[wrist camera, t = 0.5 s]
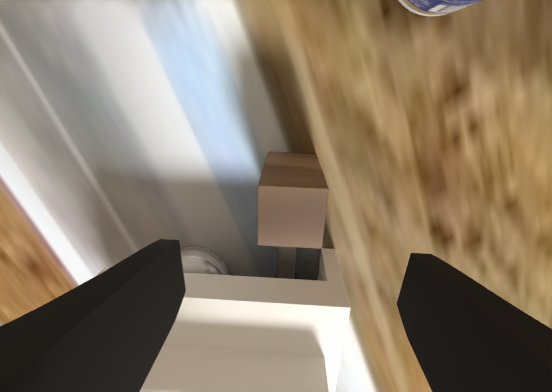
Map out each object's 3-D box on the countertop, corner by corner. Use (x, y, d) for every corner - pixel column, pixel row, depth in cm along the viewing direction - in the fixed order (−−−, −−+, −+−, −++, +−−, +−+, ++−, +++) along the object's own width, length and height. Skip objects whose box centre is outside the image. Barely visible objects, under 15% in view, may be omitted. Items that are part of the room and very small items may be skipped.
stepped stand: (322, 335, 23) (337, 455, 15) (153, 324, 23) (90, 435, 16) (335, 248, 19) (362, 351, 12) (134, 237, 20) (42, 329, 12)
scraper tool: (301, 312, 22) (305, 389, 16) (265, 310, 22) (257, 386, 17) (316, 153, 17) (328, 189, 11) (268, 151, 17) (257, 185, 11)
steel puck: (230, 297, 22) (224, 316, 20) (171, 293, 22) (160, 312, 20) (227, 246, 20) (221, 263, 18) (163, 243, 20) (150, 259, 18)
